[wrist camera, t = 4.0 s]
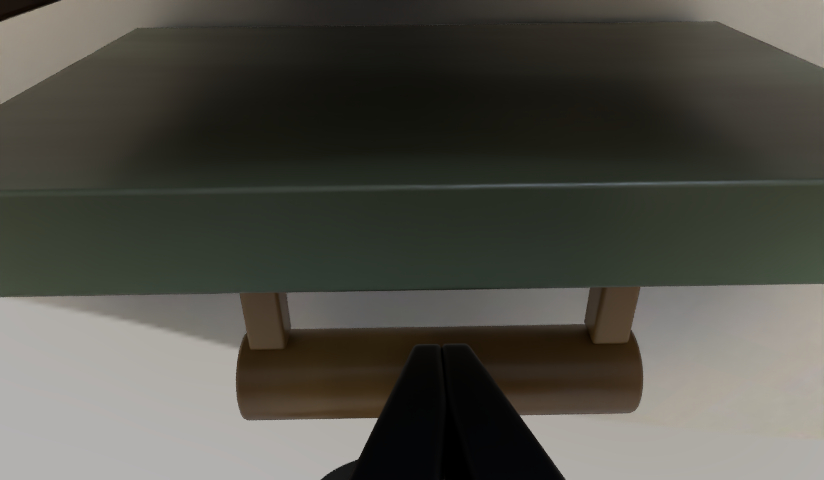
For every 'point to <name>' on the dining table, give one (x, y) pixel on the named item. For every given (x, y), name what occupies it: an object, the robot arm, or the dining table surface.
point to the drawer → (417, 187)
